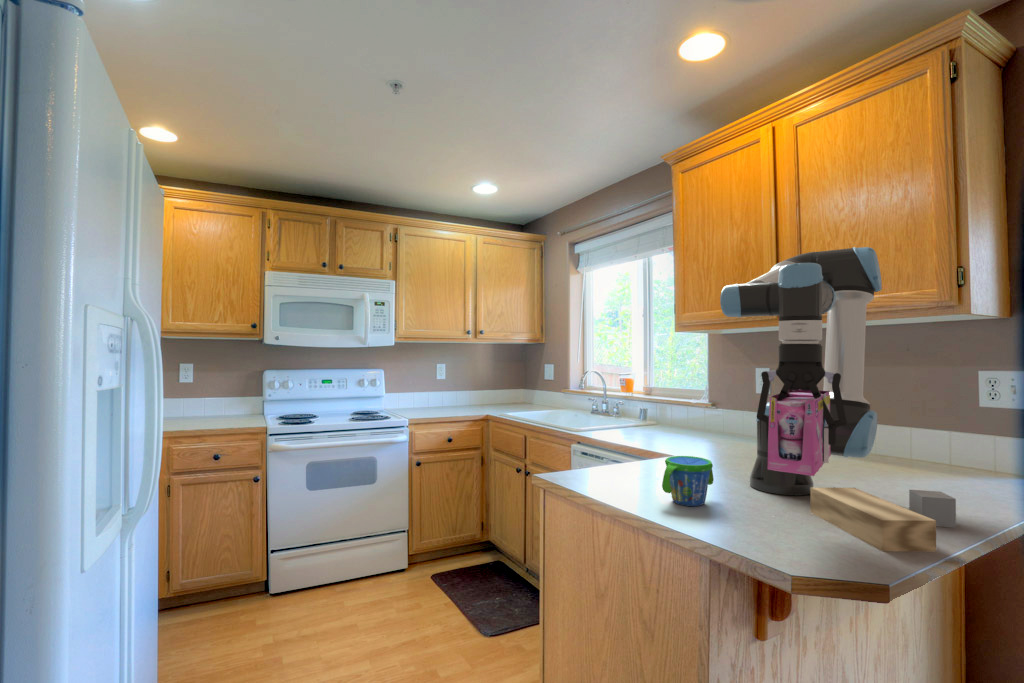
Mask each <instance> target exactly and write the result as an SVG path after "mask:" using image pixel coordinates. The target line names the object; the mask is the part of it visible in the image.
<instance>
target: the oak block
mask: <svg viewBox="0 0 1024 683" xmlns="http://www.w3.org/2000/svg"><path fill="white" fill-rule="evenodd" d="M809 495H810V499H809V500H810V503H809V504H810V506H809V507H810V509H809V510H810V512H809V513H810V514H813V515H815V516H817V517H818V518H819V519H822V520H824V521H825V522H827V523H828V524H831V525H833V526H834V527H837V528H839V529H841V530H842V531H844V532H845V533H848V534H850V535H851V536H853V537H855V538H857V539H858V540H860V541H862V542H864V543H866V544H868V545H870V546H872V547H873V548H876V549H877V550H879V551H881V552H924V553H925V552H931V553H932V552H933V553H934V552H937V526H936V520H933V519H931V518H928V517H926V516H923V515H921V514H918V513H916V512H913V511H911V510H909V509H908V508H905V507H903V506H901V505H898V504H896V503H893V502H890V501H888V500H885V499H884V498H880V497H878V496H875V495H873V494H871V493H869V492H866V491H863V490H861V489H859V488H856V487H817V486H816V487H810V494H809Z"/></svg>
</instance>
